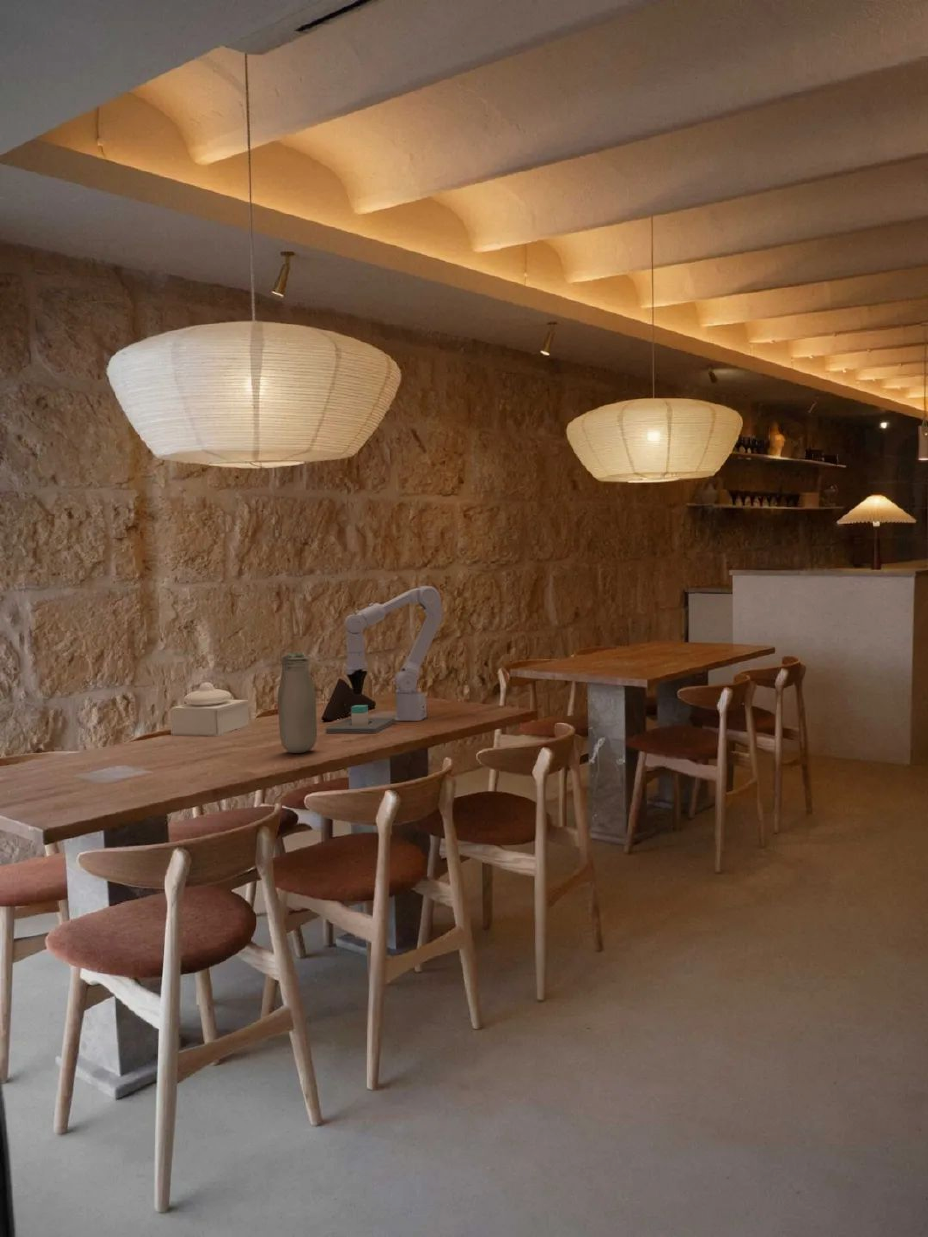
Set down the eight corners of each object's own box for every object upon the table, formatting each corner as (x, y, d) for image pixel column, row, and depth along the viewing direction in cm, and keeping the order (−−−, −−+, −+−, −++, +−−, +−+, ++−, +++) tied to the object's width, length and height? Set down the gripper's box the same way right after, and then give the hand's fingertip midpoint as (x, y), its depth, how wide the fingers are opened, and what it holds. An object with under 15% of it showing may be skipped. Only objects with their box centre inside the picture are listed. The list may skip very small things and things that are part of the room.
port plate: (394, 722, 317) (394, 718, 317) (375, 733, 300) (375, 728, 299) (348, 723, 321) (347, 718, 321) (326, 733, 304) (325, 728, 304)
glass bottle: (297, 757, 269) (291, 654, 267) (274, 753, 276) (268, 653, 274) (325, 751, 276) (319, 650, 274) (302, 747, 283) (296, 649, 281)
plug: (368, 727, 312) (367, 705, 311) (364, 729, 308) (363, 707, 307) (356, 727, 313) (355, 705, 312) (352, 729, 309) (351, 707, 308)
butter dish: (204, 725, 331) (201, 678, 330) (250, 726, 325) (247, 678, 324) (170, 735, 315) (167, 685, 314) (218, 736, 308) (215, 685, 307)
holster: (357, 744, 345) (317, 718, 326) (369, 700, 352) (330, 672, 332) (369, 745, 343) (329, 718, 323) (381, 701, 349) (342, 672, 330)
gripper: (352, 649, 326) (354, 690, 327) (335, 654, 313) (337, 697, 313) (372, 649, 325) (374, 690, 326) (356, 654, 311) (358, 697, 312)
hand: (358, 694), depth 319 cm, fingers closed
